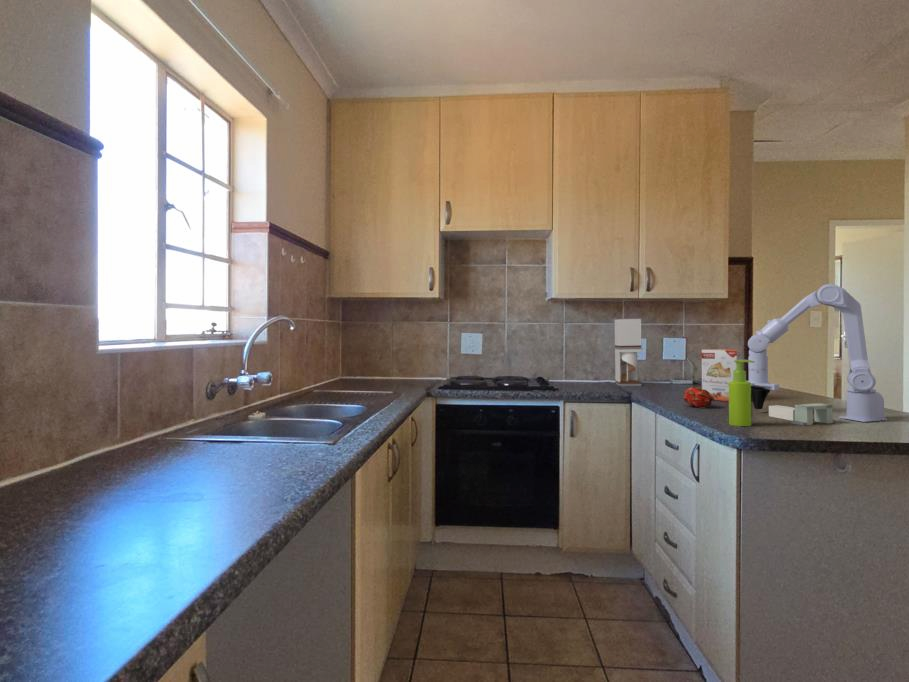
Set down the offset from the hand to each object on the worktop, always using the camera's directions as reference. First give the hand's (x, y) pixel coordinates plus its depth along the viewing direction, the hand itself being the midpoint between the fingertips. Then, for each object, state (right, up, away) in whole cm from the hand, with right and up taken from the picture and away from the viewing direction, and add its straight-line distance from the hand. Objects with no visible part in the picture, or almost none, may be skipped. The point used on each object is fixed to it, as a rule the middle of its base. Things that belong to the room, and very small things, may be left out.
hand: (758, 408), depth 172 cm
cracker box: (+4, -1, +31) cm, 31 cm away
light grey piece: (-13, 0, +92) cm, 93 cm away
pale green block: (+5, -2, -19) cm, 20 cm away
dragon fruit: (-13, -2, +15) cm, 20 cm away
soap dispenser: (-17, -2, -20) cm, 27 cm away
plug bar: (+3, -2, -11) cm, 11 cm away
